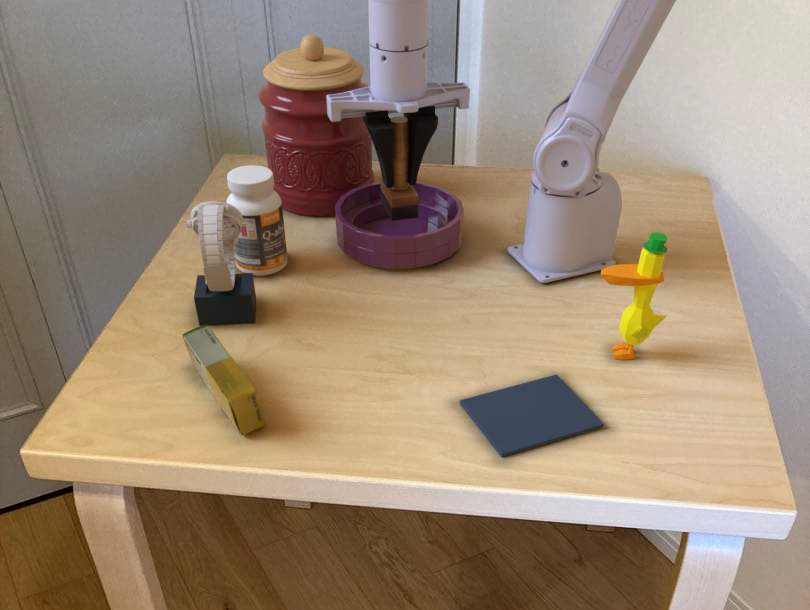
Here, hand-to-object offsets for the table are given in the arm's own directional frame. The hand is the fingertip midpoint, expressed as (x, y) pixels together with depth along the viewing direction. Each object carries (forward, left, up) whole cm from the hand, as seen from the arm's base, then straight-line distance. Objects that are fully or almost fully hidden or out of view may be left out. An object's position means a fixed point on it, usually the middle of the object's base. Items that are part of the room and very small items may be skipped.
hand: (398, 182), depth 91 cm
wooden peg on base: (0, 0, -3) cm, 3 cm away
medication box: (+26, +21, -7) cm, 34 cm away
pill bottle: (+16, -1, -7) cm, 17 cm away
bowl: (0, 0, -7) cm, 7 cm away
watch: (+22, +7, -7) cm, 24 cm away
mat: (+2, +34, -7) cm, 35 cm away
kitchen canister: (+4, -15, -7) cm, 17 cm away
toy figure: (-11, +29, -7) cm, 32 cm away
